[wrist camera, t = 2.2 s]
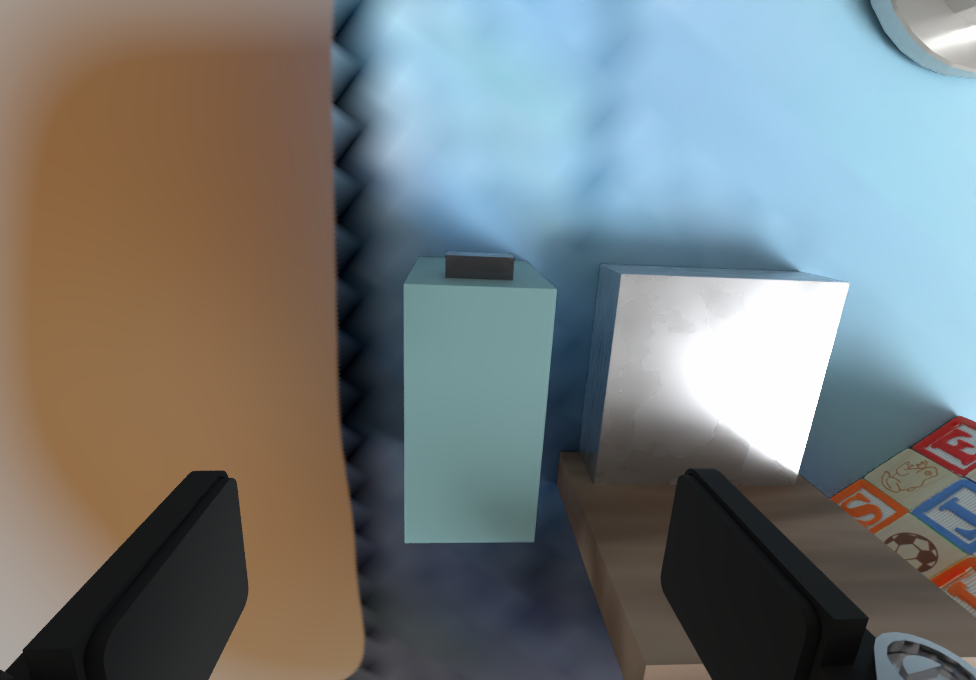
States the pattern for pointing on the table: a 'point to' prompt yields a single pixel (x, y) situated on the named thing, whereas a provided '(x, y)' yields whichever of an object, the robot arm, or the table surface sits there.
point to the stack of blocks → (926, 507)
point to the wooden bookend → (718, 450)
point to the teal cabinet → (474, 396)
